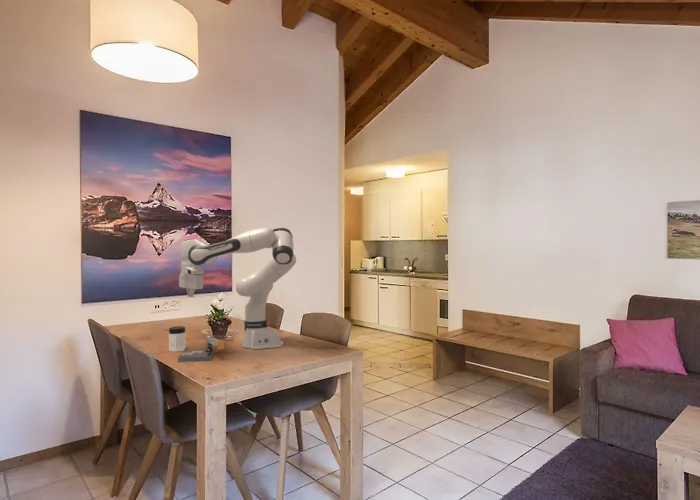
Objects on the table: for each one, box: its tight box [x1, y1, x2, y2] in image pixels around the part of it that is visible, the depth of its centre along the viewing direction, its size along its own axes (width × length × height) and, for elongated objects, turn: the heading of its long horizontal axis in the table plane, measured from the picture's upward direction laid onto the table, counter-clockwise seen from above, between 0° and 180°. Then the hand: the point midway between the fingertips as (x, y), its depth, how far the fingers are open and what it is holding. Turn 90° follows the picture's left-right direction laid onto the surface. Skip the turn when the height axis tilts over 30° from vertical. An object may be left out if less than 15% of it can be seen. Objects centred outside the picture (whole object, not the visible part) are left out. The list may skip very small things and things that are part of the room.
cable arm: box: [206, 334, 225, 350], centre depth 222 cm, size 17×3×4 cm, turn 37°
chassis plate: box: [177, 342, 215, 363], centre depth 221 cm, size 15×15×6 cm
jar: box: [168, 325, 187, 353], centre depth 237 cm, size 9×8×12 cm
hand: (190, 297), depth 228 cm, fingers closed
